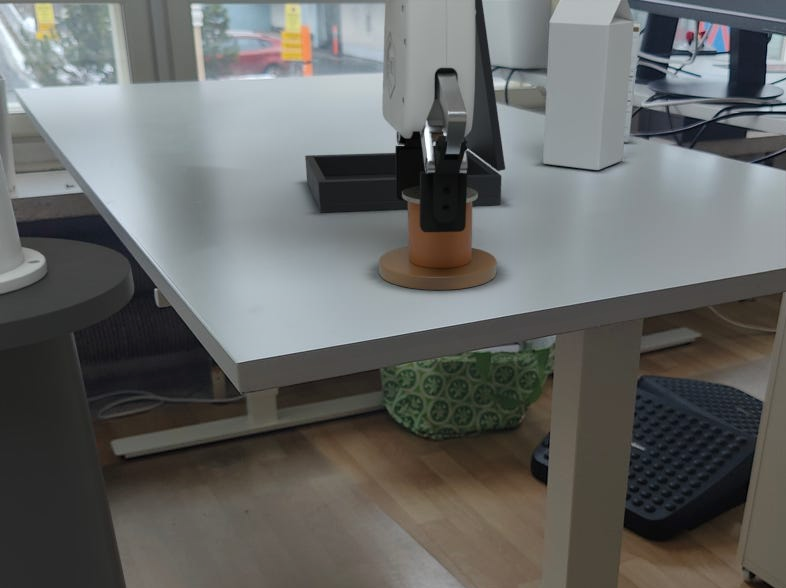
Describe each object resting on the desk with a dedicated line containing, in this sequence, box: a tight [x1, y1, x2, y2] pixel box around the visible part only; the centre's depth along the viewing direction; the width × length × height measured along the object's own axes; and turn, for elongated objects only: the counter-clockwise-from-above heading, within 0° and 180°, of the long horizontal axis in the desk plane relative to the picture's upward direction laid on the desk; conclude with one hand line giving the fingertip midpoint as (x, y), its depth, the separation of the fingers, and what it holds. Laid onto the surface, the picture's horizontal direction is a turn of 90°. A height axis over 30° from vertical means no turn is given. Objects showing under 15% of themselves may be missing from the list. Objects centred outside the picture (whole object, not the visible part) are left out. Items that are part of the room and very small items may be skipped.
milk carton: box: [542, 0, 635, 171], centre depth 108 cm, size 7×7×19 cm
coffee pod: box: [402, 186, 478, 268], centre depth 72 cm, size 6×6×5 cm
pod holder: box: [304, 150, 502, 213], centre depth 97 cm, size 18×14×3 cm
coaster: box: [378, 246, 498, 291], centre depth 73 cm, size 9×9×1 cm
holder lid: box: [464, 0, 506, 172], centre depth 93 cm, size 18×14×1 cm
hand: (428, 214), depth 71 cm, fingers open, 9 cm apart
